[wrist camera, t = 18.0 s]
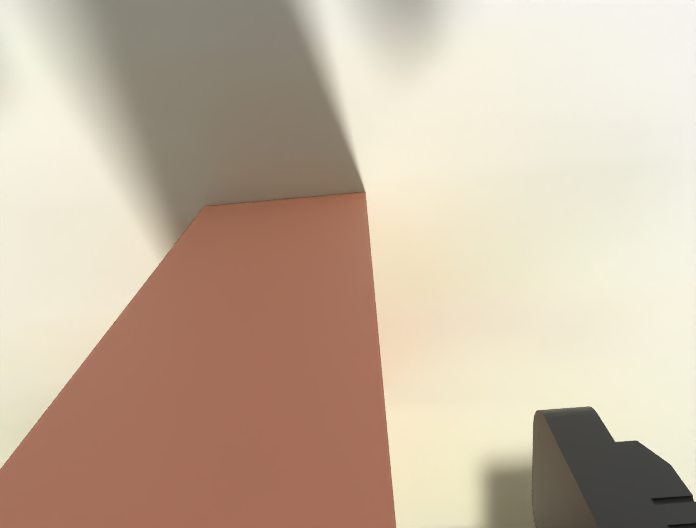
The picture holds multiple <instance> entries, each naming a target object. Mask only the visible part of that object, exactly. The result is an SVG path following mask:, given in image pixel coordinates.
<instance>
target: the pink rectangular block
mask: <svg viewBox="0 0 696 528" xmlns="http://www.w3.org/2000/svg"><path fill="white" fill-rule="evenodd" d="M0 528H396V521H395V510H394V500H393V489H392V478H391V467H390V456H389V445H388V434H387V423H386V412H385V401H384V390H383V379H382V368H381V357H380V346H379V335H378V324H377V313H376V302H375V292H374V281H373V270H372V259H371V248H370V237H369V226H368V215H367V204H366V193H365V192H360V193H349V194H338V195H327V196H316V197H304V198H293V199H282V200H271V201H259V202H248V203H237V204H226V205H215V206H204V207H203V209H202V210H201V211H200V212H199V214H198V215H197V216H196V218H195V219H194V220H193V222H192V223H191V224H190V225H189V227H188V228H187V229H186V231H185V232H184V233H183V234H182V236H181V237H180V238H179V240H178V241H177V242H176V243H175V245H174V246H173V247H172V249H171V250H170V251H169V252H168V254H167V255H166V256H165V258H164V259H163V260H162V261H161V263H160V264H159V265H158V267H157V268H156V269H155V271H154V272H153V273H152V274H151V276H150V277H149V278H148V280H147V281H146V282H145V283H144V285H143V286H142V287H141V289H140V290H139V291H138V292H137V294H136V295H135V296H134V298H133V299H132V300H131V301H130V303H129V304H128V305H127V307H126V308H125V309H124V311H123V312H122V313H121V314H120V316H119V317H118V318H117V320H116V321H115V322H114V323H113V325H112V326H111V327H110V329H109V330H108V331H107V332H106V334H105V335H104V336H103V338H102V339H101V340H100V341H99V343H98V344H97V345H96V347H95V348H94V349H93V350H92V352H91V353H90V354H89V356H88V357H87V358H86V360H85V361H84V362H83V363H82V365H81V366H80V367H79V369H78V370H77V371H76V372H75V374H74V375H73V376H72V378H71V379H70V380H69V381H68V383H67V384H66V385H65V387H64V388H63V389H62V390H61V392H60V393H59V394H58V396H57V397H56V398H55V400H54V401H53V402H52V403H51V405H50V406H49V407H48V409H47V410H46V411H45V412H44V414H43V415H42V416H41V418H40V419H39V420H38V421H37V423H36V424H35V425H34V427H33V428H32V429H31V430H30V432H29V433H28V434H27V436H26V437H25V438H24V439H23V441H22V442H21V443H20V445H19V446H18V447H17V449H16V450H15V451H14V452H13V454H12V455H11V456H10V458H9V459H8V460H7V461H6V463H5V464H4V465H3V467H2V468H1V469H0Z"/></svg>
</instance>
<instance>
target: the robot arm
mask: <svg viewBox="0 0 696 528" xmlns="http://www.w3.org/2000/svg"><path fill="white" fill-rule="evenodd" d="M532 506H533V515H534V521H535V526H536V528H696V502H694V500H693V495H692V494H691V492H690V491H689V490H688V488H687V487H686V485H685V484H684V483H683V481H682V480H681V479H680V477H679V476H678V474H677V473H676V472H675V470H674V469H673V467H672V466H671V465H670V464H669V463H667V462H666V461H665V460H663V459H662V458H660V457H659V456H658V455H656V454H655V453H653V452H652V451H651V450H649V449H648V448H646V447H645V446H644V445H642V444H641V443H639V442H638V441H624V442H615V441H614V439H613V438H612V436H611V435H610V433H609V431H608V430H607V428H606V427H605V425H604V424H603V422H602V420H601V419H600V417H599V416H598V414H597V413H596V411H595V410H594V409H593V408H592V407H576V408H563V409H549V410H537V411H536V413H535V415H534V422H533V465H532Z"/></svg>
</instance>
